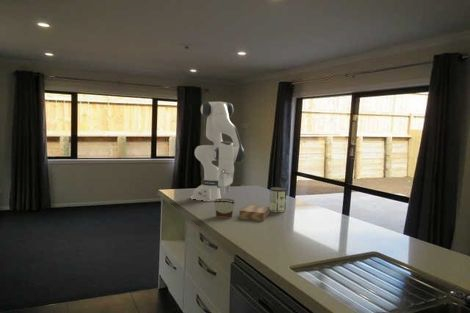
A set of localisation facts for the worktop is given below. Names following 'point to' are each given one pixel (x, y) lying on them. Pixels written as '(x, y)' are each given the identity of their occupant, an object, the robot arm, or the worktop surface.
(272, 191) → the coffee can
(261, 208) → the walnut block
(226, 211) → the food container
